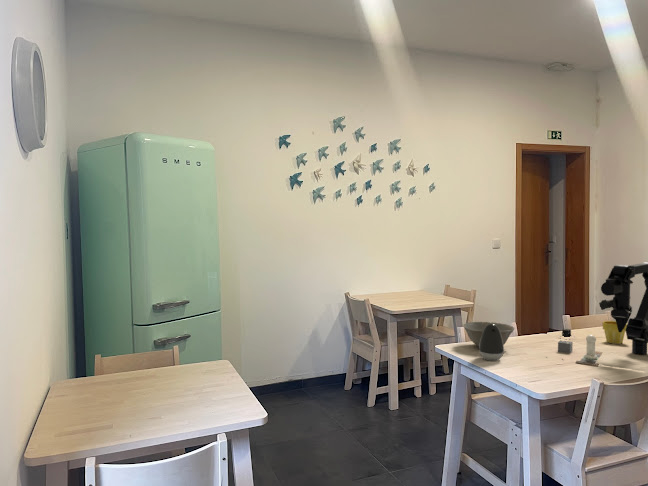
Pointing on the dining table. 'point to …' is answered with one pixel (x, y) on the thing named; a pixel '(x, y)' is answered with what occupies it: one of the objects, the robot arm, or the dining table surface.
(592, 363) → the board
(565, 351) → the grey cube
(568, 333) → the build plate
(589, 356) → the pawn
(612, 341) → the plant pot
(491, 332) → the dark grey egg shape
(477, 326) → the ceramic bowl
